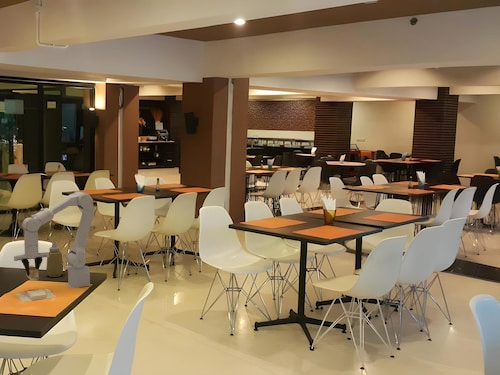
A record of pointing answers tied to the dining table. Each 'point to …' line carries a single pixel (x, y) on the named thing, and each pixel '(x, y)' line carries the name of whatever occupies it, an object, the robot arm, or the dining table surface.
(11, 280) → the dining table surface
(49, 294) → the mat
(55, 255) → the squeeze bottle
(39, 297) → the tile
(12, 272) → the dining table surface
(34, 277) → the wooden bar
